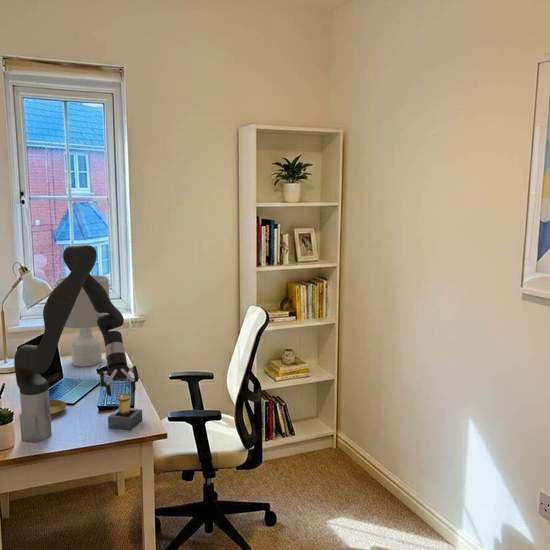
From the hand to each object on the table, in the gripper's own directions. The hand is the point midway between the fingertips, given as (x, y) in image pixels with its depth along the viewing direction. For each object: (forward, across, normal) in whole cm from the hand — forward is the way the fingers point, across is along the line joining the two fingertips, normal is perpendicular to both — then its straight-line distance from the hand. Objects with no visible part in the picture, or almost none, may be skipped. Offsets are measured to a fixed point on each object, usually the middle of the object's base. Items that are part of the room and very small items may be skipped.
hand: (121, 393), depth 205 cm
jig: (+12, 0, +2) cm, 12 cm away
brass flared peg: (+11, 0, +2) cm, 11 cm away
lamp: (-44, -6, +58) cm, 73 cm away
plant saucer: (-4, -26, +18) cm, 32 cm away
